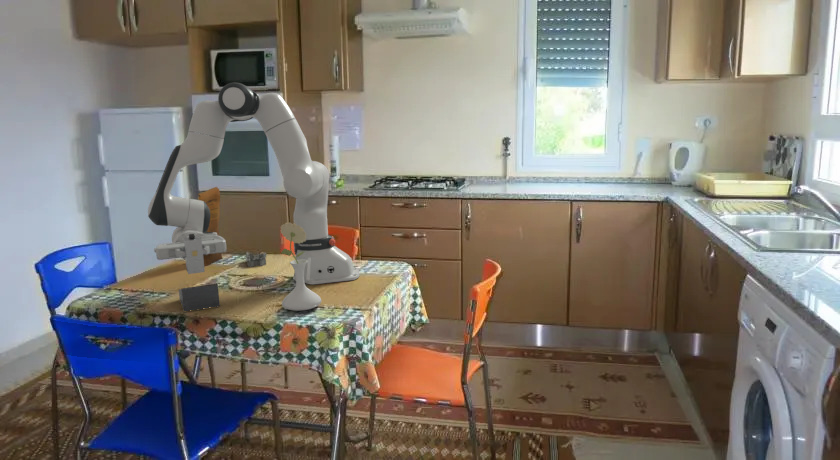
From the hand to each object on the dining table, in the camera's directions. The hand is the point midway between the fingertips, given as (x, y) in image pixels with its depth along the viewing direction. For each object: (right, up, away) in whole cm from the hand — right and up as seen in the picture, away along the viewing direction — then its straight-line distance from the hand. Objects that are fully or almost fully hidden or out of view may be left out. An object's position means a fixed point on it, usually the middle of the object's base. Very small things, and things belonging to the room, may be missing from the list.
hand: (194, 253), depth 186 cm
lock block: (0, -5, +2) cm, 6 cm away
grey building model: (+5, -6, +51) cm, 52 cm away
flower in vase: (+32, -16, -3) cm, 36 cm away
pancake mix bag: (-13, -5, +55) cm, 57 cm away
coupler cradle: (0, -15, +4) cm, 16 cm away
